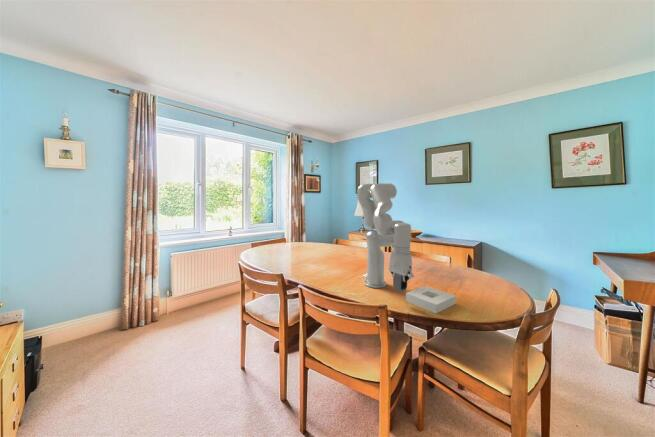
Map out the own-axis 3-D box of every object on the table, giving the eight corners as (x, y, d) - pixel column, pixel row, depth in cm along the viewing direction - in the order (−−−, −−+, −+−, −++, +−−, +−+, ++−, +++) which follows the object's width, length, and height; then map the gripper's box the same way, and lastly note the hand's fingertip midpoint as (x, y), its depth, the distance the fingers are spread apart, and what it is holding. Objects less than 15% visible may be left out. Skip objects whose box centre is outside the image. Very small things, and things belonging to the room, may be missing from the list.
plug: (393, 289, 119) (394, 273, 118) (399, 287, 121) (399, 271, 120) (400, 292, 116) (401, 275, 114) (405, 290, 118) (406, 273, 117)
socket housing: (405, 300, 122) (405, 293, 121) (425, 293, 131) (425, 285, 130) (435, 313, 109) (436, 304, 108) (455, 304, 118) (455, 295, 117)
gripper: (382, 247, 120) (381, 283, 123) (411, 255, 107) (409, 295, 109) (392, 244, 125) (391, 279, 127) (422, 252, 111) (420, 291, 113)
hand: (399, 286), depth 118 cm, fingers closed on plug, 4 cm apart
